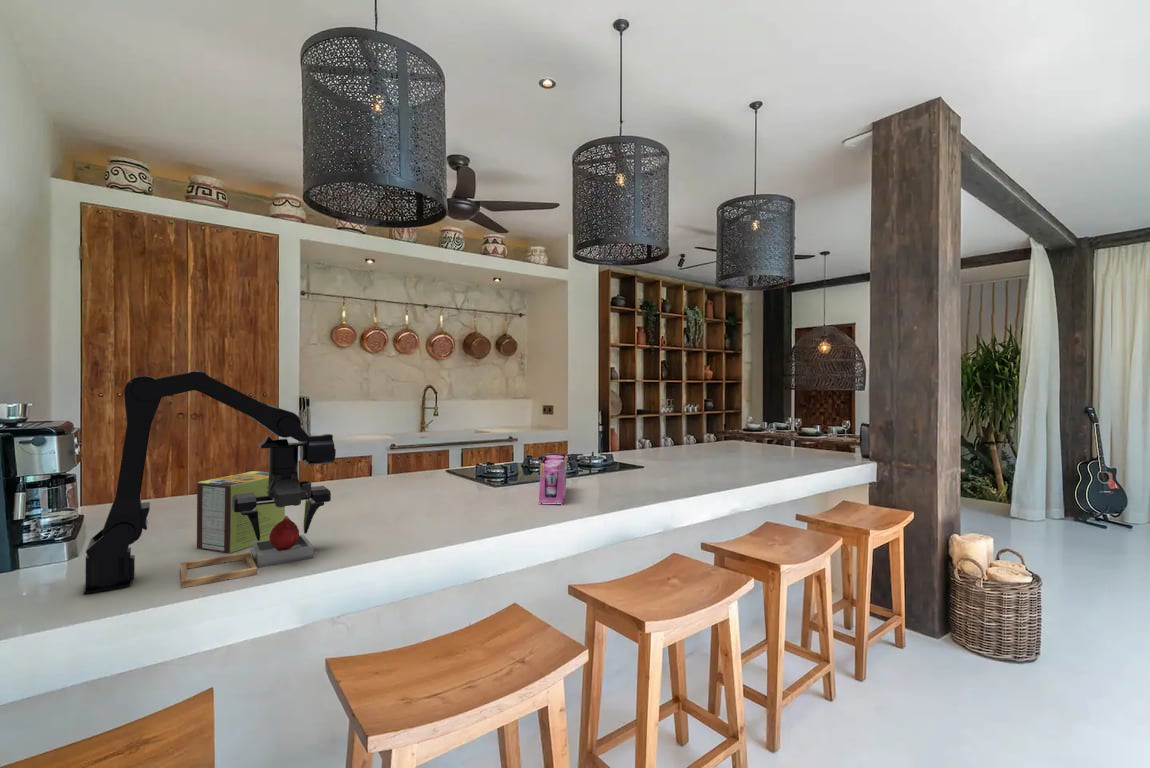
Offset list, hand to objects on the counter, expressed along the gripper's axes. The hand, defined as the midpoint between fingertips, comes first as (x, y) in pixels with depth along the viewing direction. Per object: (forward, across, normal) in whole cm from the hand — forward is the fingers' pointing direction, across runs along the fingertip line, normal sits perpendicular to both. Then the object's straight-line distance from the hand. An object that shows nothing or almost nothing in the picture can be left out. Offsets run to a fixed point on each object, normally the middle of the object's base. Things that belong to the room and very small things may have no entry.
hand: (282, 536), depth 117 cm
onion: (+4, 0, 0) cm, 4 cm away
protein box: (+4, -6, +16) cm, 18 cm away
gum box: (+4, +84, +14) cm, 86 cm away
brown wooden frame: (+4, -12, -4) cm, 13 cm away
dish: (+4, 0, 0) cm, 4 cm away
